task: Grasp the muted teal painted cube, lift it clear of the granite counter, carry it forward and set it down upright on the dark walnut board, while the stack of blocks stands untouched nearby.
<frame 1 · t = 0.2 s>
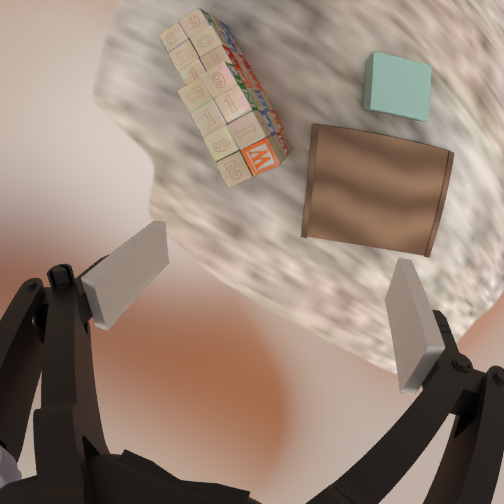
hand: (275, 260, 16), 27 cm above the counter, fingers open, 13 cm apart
cube: (389, 89, 32), on the counter
stack of blocks: (240, 92, 37), on the counter
board: (377, 190, 38), on the counter
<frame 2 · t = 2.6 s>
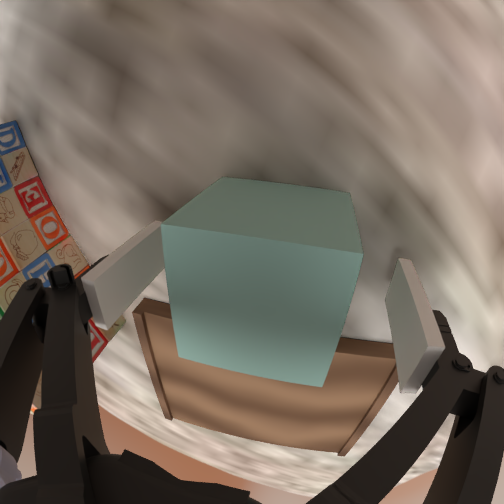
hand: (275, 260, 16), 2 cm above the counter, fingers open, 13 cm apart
cube: (279, 241, 17), on the counter
stack of blocks: (50, 231, 22), on the counter
board: (262, 390, 24), on the counter
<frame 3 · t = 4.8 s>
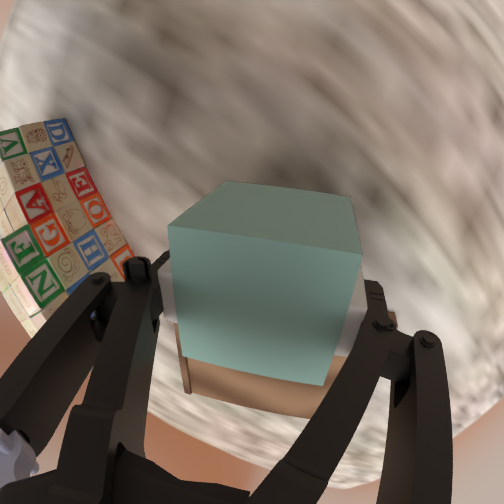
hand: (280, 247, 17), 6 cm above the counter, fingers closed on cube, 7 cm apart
cube: (281, 244, 18), point 5 cm above the counter, touching gripper
stack of blocks: (91, 215, 28), on the counter
board: (275, 358, 29), on the counter
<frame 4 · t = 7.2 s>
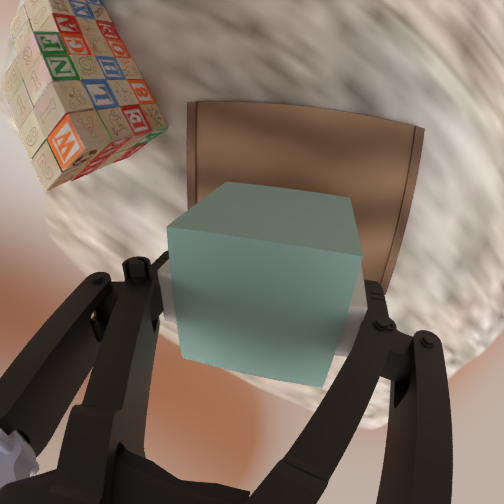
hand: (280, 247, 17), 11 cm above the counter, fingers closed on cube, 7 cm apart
cube: (281, 245, 18), point 10 cm above the counter, touching gripper
stack of blocks: (109, 66, 25), on the counter
board: (298, 193, 27), on the counter
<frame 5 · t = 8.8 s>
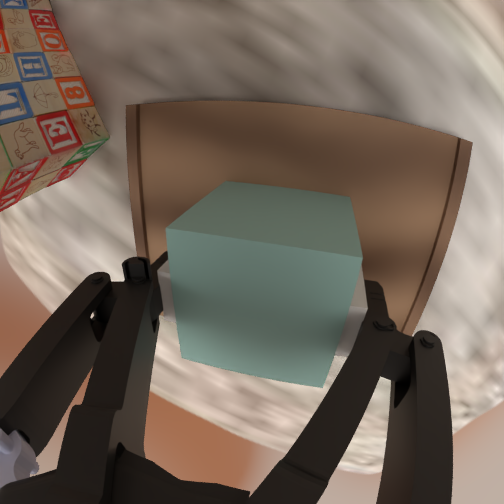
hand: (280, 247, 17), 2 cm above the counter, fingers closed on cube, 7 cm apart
cube: (281, 244, 18), point 1 cm above the counter, touching board, gripper
stack of blocks: (48, 64, 17), on the counter
board: (284, 233, 19), on the counter
when the fingers open (2 cm above the counter, at t = 9.5 s): cube stays where it is, resting on board.
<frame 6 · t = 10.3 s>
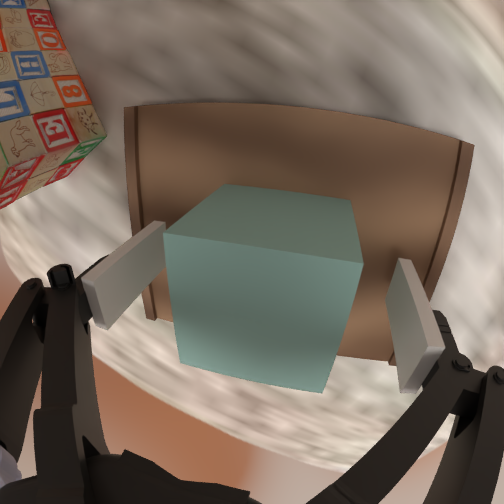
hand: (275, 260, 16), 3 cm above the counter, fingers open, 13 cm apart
cube: (280, 248, 17), point 1 cm above the counter, touching board
stack of blocks: (46, 63, 17), on the counter
board: (284, 236, 19), on the counter
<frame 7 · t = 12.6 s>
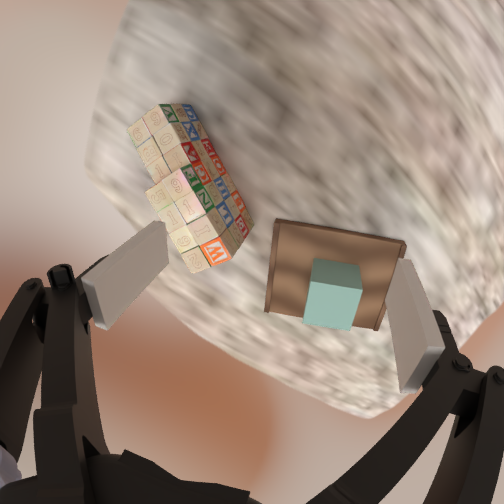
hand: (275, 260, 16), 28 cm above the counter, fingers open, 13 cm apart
cube: (332, 281, 45), point 1 cm above the counter, touching board
stack of blocks: (207, 172, 44), on the counter
board: (332, 276, 46), on the counter
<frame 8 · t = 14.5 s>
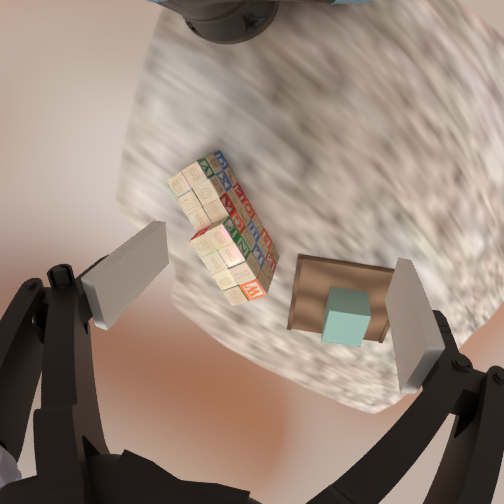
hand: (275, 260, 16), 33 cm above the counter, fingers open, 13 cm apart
cube: (345, 304, 53), point 1 cm above the counter, touching board
stack of blocks: (236, 211, 52), on the counter
board: (345, 299, 54), on the counter
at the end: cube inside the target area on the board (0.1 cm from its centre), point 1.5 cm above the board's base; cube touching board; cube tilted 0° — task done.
